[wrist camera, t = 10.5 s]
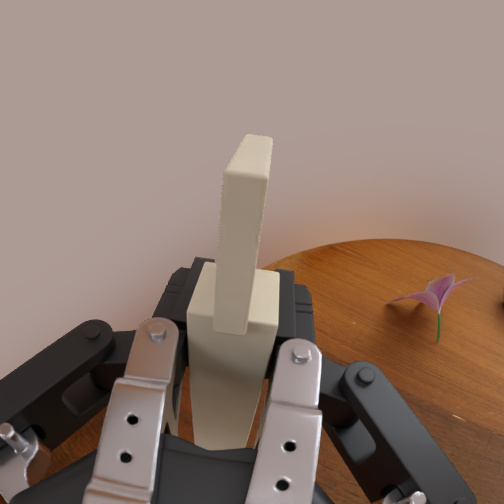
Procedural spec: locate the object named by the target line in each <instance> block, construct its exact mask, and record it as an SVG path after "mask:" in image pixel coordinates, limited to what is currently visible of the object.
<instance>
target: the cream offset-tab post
mask: <svg viewBox="0 0 504 504" xmlns="http://www.w3.org/2000/svg"><path fill="white" fill-rule="evenodd" d="M272 147H273V139H272V138H271V137H266V136H259V135H251V134H247V135H245V137H244V139H243V140H242V142H241V144H240V145H239V147H238V149H237V151H236V153H235V154H234V156H233V157H232V159H231V161H230V163H229V165H228V166H227V168H226V170H225V172H224V174H223V185H222V197H221V210H220V223H219V236H218V237H219V238H218V252H217V263H212V262H205V263H204V266H203V268H202V271H201V274H200V276H199V279H198V282H197V284H196V287H195V290H194V293H193V295H192V298H191V301H190V304H189V307H188V309H187V336H188V358H189V376H190V392H191V405H192V418H193V429H194V440H195V445H197V446H199V447H202V448H204V449H207V450H226V449H238V448H245V447H246V444H247V440H248V437H249V433H250V430H251V426H252V423H253V419H254V416H255V412H256V409H257V405H258V401H259V398H260V394H261V390H262V387H263V383H264V379H265V376H266V372H267V368H268V364H269V360H270V356H271V353H272V349H273V345H274V341H275V337H276V333H277V329H278V320H279V283H280V274H279V272H274V271H267V270H260V269H256V264H257V257H258V250H259V244H260V237H261V230H262V223H263V217H264V210H265V203H266V196H267V190H268V183H269V175H270V166H271V157H272Z"/></svg>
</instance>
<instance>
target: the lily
mask: <svg viewBox="0 0 504 504" xmlns="http://www.w3.org/2000/svg"><path fill="white" fill-rule="evenodd" d="M475 278H478V277H473V278H469V279H466V280H461V281H459V282H457V283H455V284H454V282H455V275H454V274H450V275H446V276H444V277H441V278H439V279H437V280H435V281H433V282H432V280H430V281H431V283H430V282H429V281H428V280H427V281H428V282H429V283H430V284H429V285H428V286H427V287H426V288H425V291H423V292H418V293H414V294H411V295H407V296H401V297H398V298H395V299H393V300H391V301H389V302H388V303H391V302H394V301H397V300H401V299H405V298H412V299H415V300H417V301H419V302H421V303H423V304H425V305H427V306H429V307H431V308H433V309H435V310H436V311H437V312H438V336H437V342H439V337H440V310H441V307H442V305H443V304H444V302H445V300H446V299H447V297H448V296H449V295H450V293H451V292H452V291H453V290H454V289H455V288H456V287H458V286H459V285H461V284H463V283H465V282H467V281H470V280H472V279H475Z"/></svg>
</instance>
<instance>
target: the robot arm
mask: <svg viewBox="0 0 504 504" xmlns="http://www.w3.org/2000/svg"><path fill="white" fill-rule="evenodd" d="M205 262H212V263H215V262H214V259H207V258H201V257H195V259H194V262H193V264H192V267H191V269H189V268H182V267H181V268H180V269H178V270H177V271H176V272H175V273H173V274H172V276H171V278H170V280H169V282H168V285H167V286H166V288H165V292H164V293H163V295H162V297H161V299H160V301H159V303H158V305H157V307H156V310H155V312H154V314H153V316H152V318H150V319H147V320H145V321H144V322H142V323H141V324H140V325H139V327H138V328H137V330H133V331H118V332H113V331H112V328H111V326H110V325H109V324H107V323H106V322H104V321H102V320H89V321H86V322H83V323H82V324H80V325H79V326H77V327H76V328H74V329H73V330H71V331H70V332H68V333H67V334H65V335H64V336H63V337H61V338H60V339H58V340H57V341H55V342H54V343H52V344H51V345H50V346H48V347H47V348H45V349H44V350H42V351H41V352H40V353H38V354H36V355H35V356H34V357H32V358H31V359H29V360H28V361H27V362H25V363H24V364H22V365H21V366H19V367H18V368H17V369H15V370H14V371H13V372H11V373H10V374H8V375H7V376H6V377H4V378H3V379H1V380H0V493H1V495H2V496H3V498H4V499H5V501H6V502H7V503H8V504H334V502H333V501H332V500H331V499H330V498H329V497H328V495H327V494H326V493H325V492H324V491H323V489H322V488H321V487H320V486H319V485H318V483H317V482H316V481H315V476H316V469H317V461H318V453H319V444H320V435H321V425H322V426H323V428H324V429H325V431H326V433H327V434H328V436H329V437H330V439H331V441H332V442H333V444H334V446H335V447H336V449H337V450H338V452H339V454H340V455H341V457H342V458H343V460H344V462H345V463H346V465H347V466H348V468H349V470H350V471H351V473H352V474H353V476H354V477H355V479H356V481H357V482H358V484H359V485H360V487H361V488H362V490H363V492H364V493H365V495H366V496H367V498H368V499H369V501H370V502H371V504H477V500H476V497H475V495H474V494H473V492H472V491H471V489H470V488H469V487H468V485H467V484H466V482H465V481H464V480H463V478H462V477H461V476H460V474H459V473H458V471H457V470H456V469H455V467H454V466H453V465H452V463H451V462H450V460H449V459H448V458H447V456H446V455H445V454H444V452H443V451H442V450H441V448H440V447H439V446H438V444H437V443H436V442H435V440H434V439H433V438H432V436H431V435H430V434H429V432H428V431H427V430H426V428H425V427H424V426H423V424H422V423H421V422H420V420H419V419H418V418H417V416H416V415H415V414H414V413H413V411H412V410H411V409H410V407H409V406H408V405H407V403H406V402H405V401H404V400H403V398H402V397H401V396H400V394H399V393H398V392H397V390H396V389H395V388H394V387H393V385H392V384H391V383H390V381H389V380H388V379H387V378H386V376H385V375H384V374H383V373H382V371H381V370H380V369H379V368H378V367H377V366H376V365H374V364H372V363H370V362H367V361H355V362H353V363H351V364H349V365H348V366H347V367H345V366H342V365H339V364H337V363H334V362H331V361H329V360H328V359H326V358H325V357H323V356H322V354H321V352H320V350H319V348H318V347H317V346H316V343H315V331H314V319H313V308H312V298H311V294H310V292H309V290H308V289H307V287H306V286H305V285H298V284H294V271H290V270H283V269H276V268H275V271H274V272H279V274H280V283H279V320H278V329H277V333H276V337H275V341H274V345H273V349H272V353H271V356H270V360H269V364H268V368H267V372H266V376H265V379H269V383H268V390H267V394H266V398H265V402H264V406H263V411H262V415H261V419H260V423H259V428H258V432H257V436H256V440H255V443H254V447H253V448H238V449H226V450H207V449H204V448H202V447H199V446H197V445H195V444H192V443H190V442H188V441H186V440H184V439H181V438H179V437H178V418H179V409H180V401H181V392H182V384H183V376H184V372H185V369H186V366H188V367H189V358H188V336H187V309H188V307H189V304H190V301H191V298H192V295H193V293H194V290H195V287H196V284H197V282H198V279H199V276H200V274H201V271H202V268H203V266H204V263H205ZM107 405H108V408H107V412H106V416H105V420H104V424H103V428H102V432H101V437H100V441H99V446H98V448H97V449H96V450H94V451H92V452H91V453H89V454H87V455H86V456H84V457H82V458H81V459H79V460H77V461H76V462H74V463H72V464H70V465H69V466H67V467H65V468H63V469H62V470H60V471H58V472H56V473H55V474H53V475H51V476H49V477H47V478H45V479H44V480H42V476H43V474H44V473H45V472H46V471H48V470H49V469H50V467H51V460H52V455H51V452H52V451H53V450H54V449H55V448H56V447H58V446H59V445H60V444H61V443H63V442H64V441H65V440H66V439H67V438H69V437H70V436H71V435H72V434H74V433H75V432H76V431H77V430H78V429H80V428H81V427H82V426H83V425H84V424H86V423H87V422H88V421H89V420H90V419H92V418H93V417H94V416H95V415H96V414H98V413H99V412H100V411H101V410H102V409H104V408H105V407H106V406H107ZM41 480H42V481H41Z"/></svg>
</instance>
